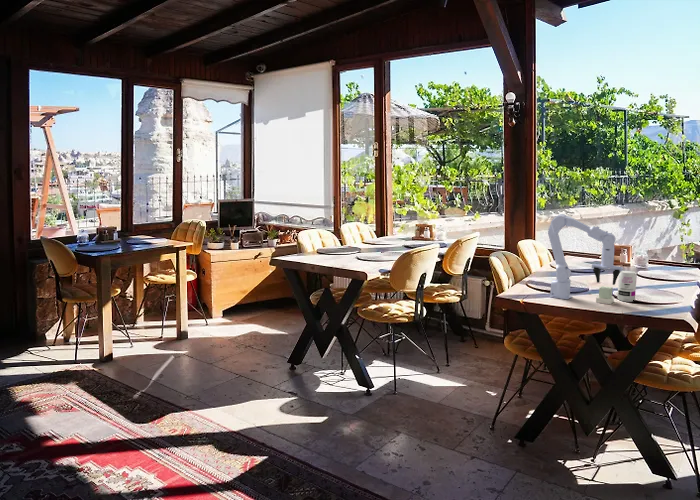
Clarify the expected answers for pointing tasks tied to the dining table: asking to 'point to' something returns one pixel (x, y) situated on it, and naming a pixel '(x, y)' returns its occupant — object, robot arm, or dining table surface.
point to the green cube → (605, 292)
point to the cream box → (605, 300)
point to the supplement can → (627, 286)
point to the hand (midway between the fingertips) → (605, 283)
